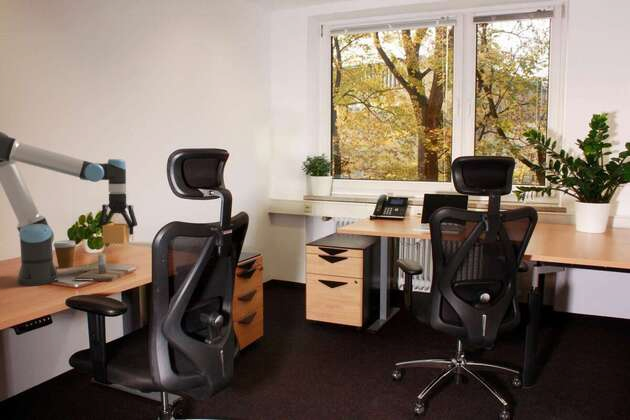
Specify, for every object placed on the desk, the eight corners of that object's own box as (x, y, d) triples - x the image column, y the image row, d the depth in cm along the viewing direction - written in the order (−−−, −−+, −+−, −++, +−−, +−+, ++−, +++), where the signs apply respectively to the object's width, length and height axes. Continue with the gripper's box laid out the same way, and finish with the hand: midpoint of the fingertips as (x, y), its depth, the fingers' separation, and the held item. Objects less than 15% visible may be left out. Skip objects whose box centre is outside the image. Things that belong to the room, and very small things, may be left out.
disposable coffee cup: (68, 269, 249) (67, 243, 248) (50, 268, 251) (48, 243, 250) (81, 265, 258) (80, 240, 257) (63, 264, 260) (62, 239, 259)
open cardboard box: (124, 243, 244) (123, 226, 243) (102, 243, 245) (102, 225, 244) (133, 240, 254) (133, 223, 253) (113, 239, 255) (112, 223, 254)
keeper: (111, 281, 225) (111, 258, 224) (75, 280, 227) (74, 258, 226) (128, 272, 241) (127, 251, 240) (94, 272, 243) (93, 251, 242)
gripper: (144, 193, 250) (145, 240, 252) (97, 192, 252) (98, 239, 254) (137, 194, 243) (138, 243, 245) (89, 193, 245) (90, 241, 247)
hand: (118, 241), depth 249 cm, fingers closed on open cardboard box, 10 cm apart
